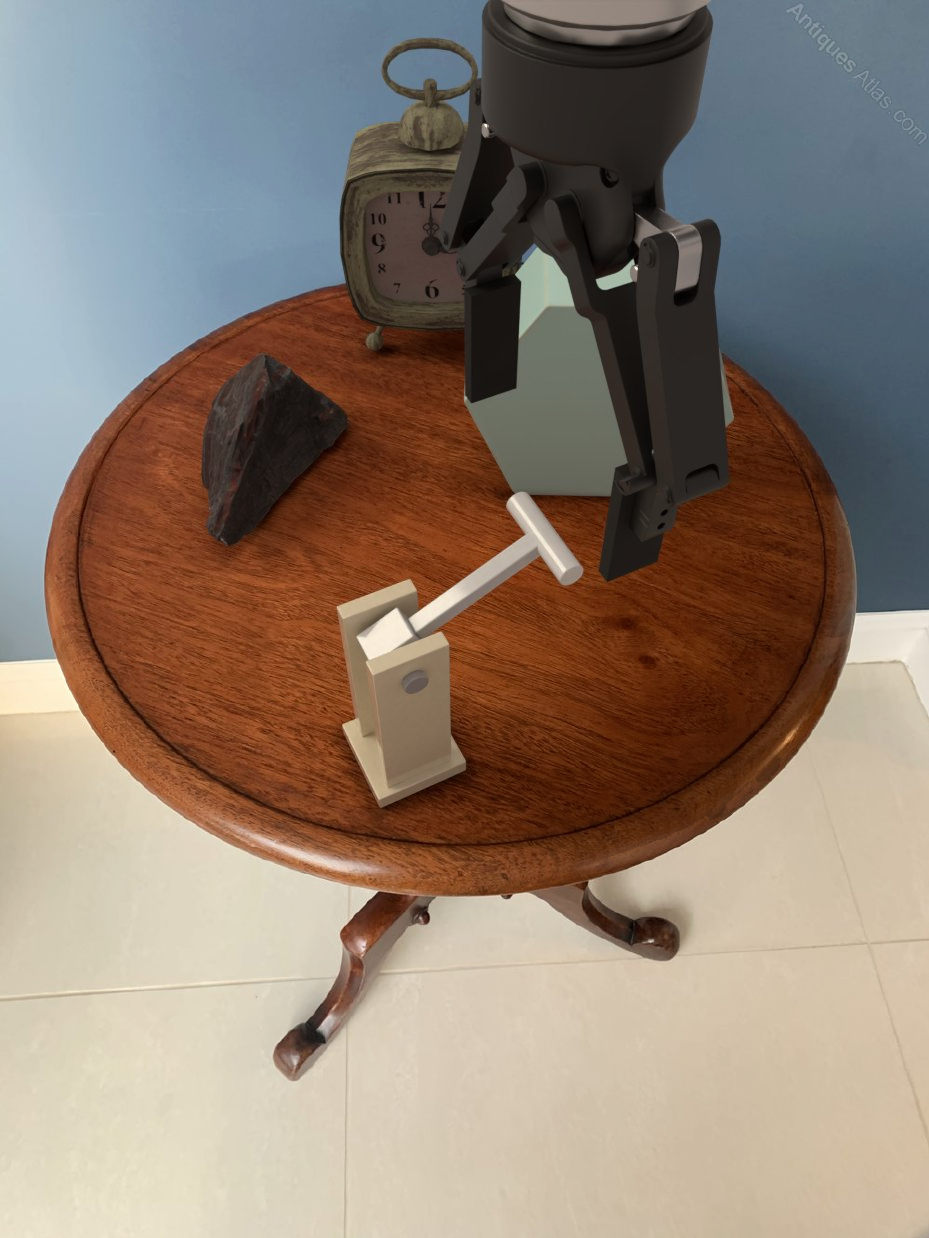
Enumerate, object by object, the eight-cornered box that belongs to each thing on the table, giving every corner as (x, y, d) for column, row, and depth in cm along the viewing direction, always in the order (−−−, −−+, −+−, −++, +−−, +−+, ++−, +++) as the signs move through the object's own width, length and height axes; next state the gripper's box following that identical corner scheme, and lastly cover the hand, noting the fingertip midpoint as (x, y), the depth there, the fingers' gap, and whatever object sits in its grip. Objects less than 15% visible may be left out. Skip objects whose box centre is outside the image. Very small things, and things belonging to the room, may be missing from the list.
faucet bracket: (426, 698, 65) (419, 566, 54) (466, 770, 62) (467, 645, 51) (343, 733, 64) (318, 604, 53) (380, 808, 61) (362, 688, 49)
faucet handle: (534, 504, 55) (520, 482, 53) (589, 578, 52) (576, 558, 50) (362, 627, 56) (342, 611, 54) (405, 707, 53) (385, 693, 51)
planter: (593, 469, 85) (776, 300, 71) (598, 536, 80) (795, 369, 66) (428, 381, 78) (595, 173, 64) (423, 449, 73) (602, 240, 59)
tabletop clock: (352, 362, 86) (319, 64, 66) (361, 300, 92) (333, 7, 72) (515, 365, 86) (533, 67, 66) (515, 303, 92) (530, 10, 71)
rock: (359, 423, 81) (349, 332, 74) (232, 568, 72) (206, 481, 65) (286, 395, 84) (270, 304, 76) (154, 533, 74) (120, 444, 67)
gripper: (342, -106, 37) (383, 352, 54) (733, 215, 24) (624, 690, 41) (516, -137, 39) (503, 314, 56) (968, 144, 26) (770, 625, 43)
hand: (554, 473), depth 48 cm, fingers open, 13 cm apart
